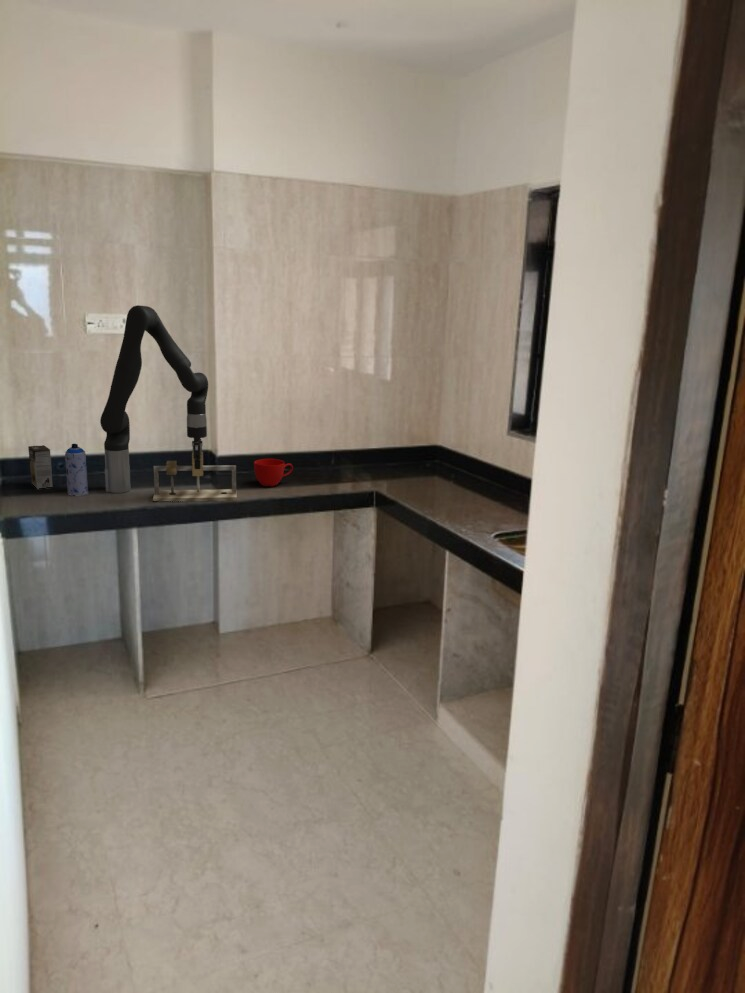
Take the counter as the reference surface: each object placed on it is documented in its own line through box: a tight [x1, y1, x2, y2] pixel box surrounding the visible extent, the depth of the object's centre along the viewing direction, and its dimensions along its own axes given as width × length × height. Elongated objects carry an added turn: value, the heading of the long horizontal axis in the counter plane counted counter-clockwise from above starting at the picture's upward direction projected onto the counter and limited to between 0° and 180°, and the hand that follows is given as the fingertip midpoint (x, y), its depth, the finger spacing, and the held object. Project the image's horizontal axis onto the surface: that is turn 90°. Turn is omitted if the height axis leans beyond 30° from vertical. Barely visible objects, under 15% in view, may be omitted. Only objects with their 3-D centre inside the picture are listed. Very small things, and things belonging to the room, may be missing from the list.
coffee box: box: [28, 445, 54, 490], centre depth 303 cm, size 9×6×16 cm
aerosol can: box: [64, 443, 89, 496], centre depth 294 cm, size 8×8×20 cm
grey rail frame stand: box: [152, 460, 238, 503], centre depth 296 cm, size 32×12×14 cm, turn 101°
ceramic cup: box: [253, 458, 294, 487], centre depth 321 cm, size 13×17×10 cm
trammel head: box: [191, 451, 204, 492], centre depth 296 cm, size 4×5×16 cm
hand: (197, 467), depth 295 cm, fingers closed on trammel head, 5 cm apart
